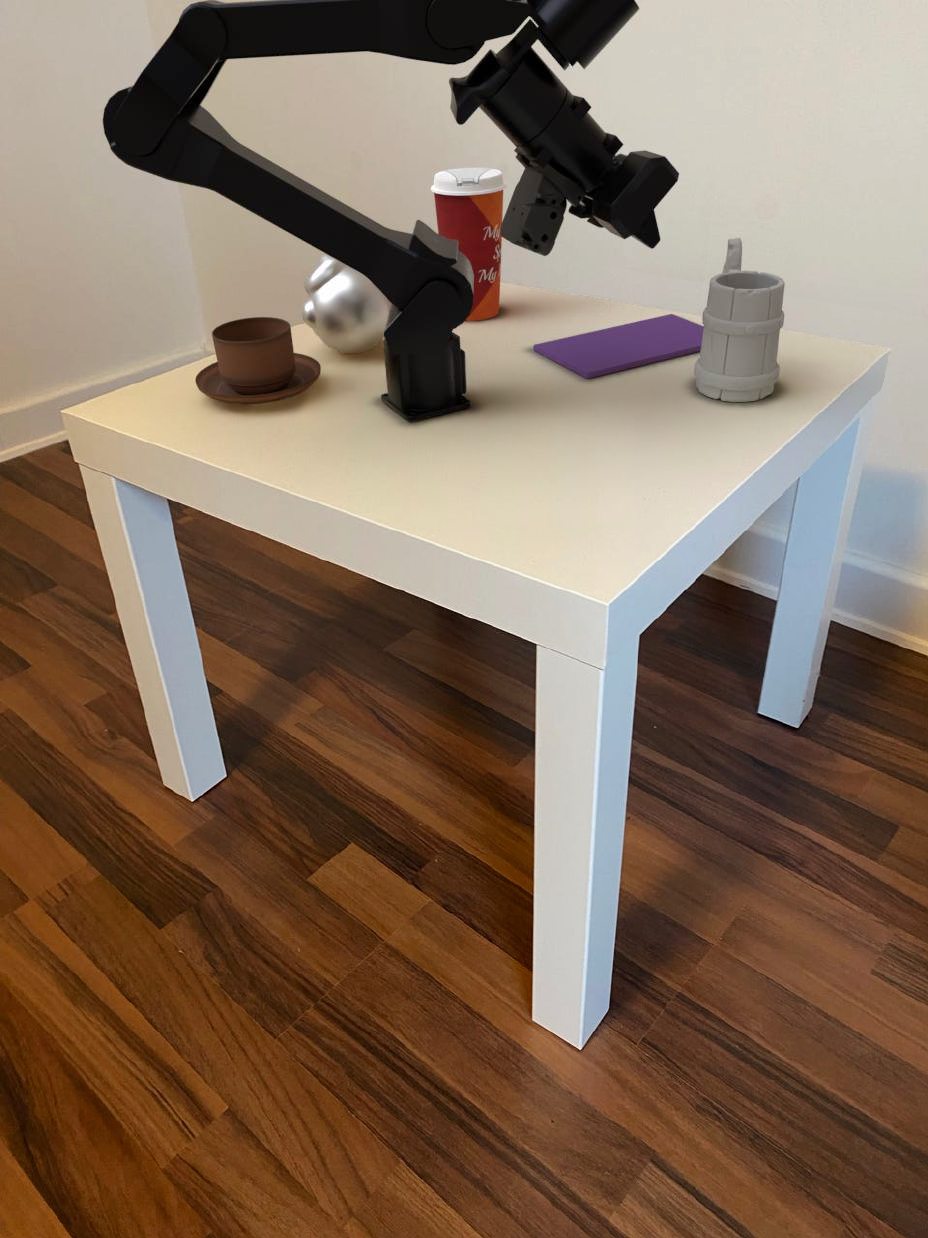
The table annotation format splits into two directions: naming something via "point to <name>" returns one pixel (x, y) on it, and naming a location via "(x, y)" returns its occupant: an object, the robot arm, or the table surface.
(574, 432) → the table surface
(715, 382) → the mug
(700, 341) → the purple rectangular board
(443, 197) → the coffee cup
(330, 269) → the silver lumpy ball
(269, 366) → the cup and saucer
